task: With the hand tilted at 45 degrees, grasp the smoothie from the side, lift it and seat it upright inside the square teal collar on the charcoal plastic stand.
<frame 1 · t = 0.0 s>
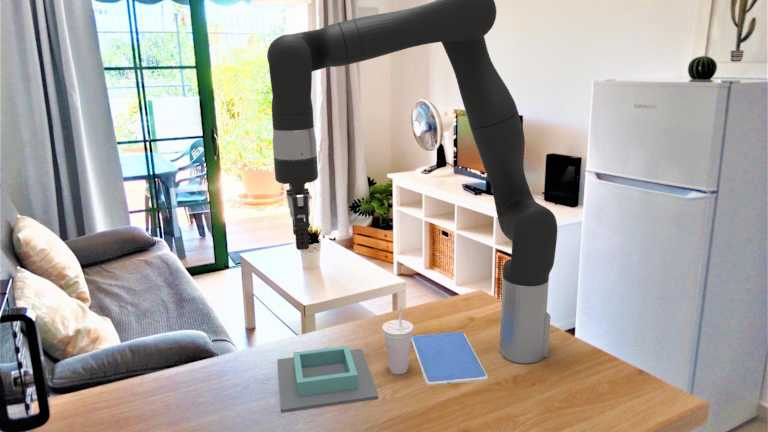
hand: (301, 241, 105), 29 cm above the table, tool pointing down, fingers open, 8 cm apart
holder: (325, 379, 114), on the table
tablet computer: (446, 361, 121), on the table
smoothie: (398, 370, 117), on the table
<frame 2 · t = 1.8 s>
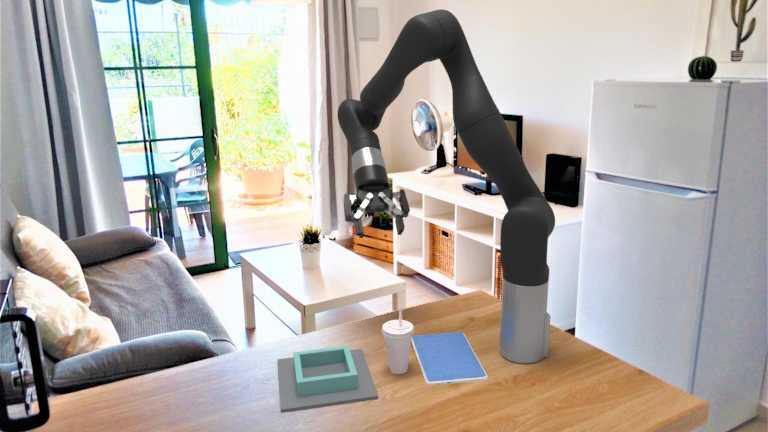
hand: (381, 235, 124), 24 cm above the table, tool tilted 45°, fingers open, 8 cm apart
nothing on the table moved.
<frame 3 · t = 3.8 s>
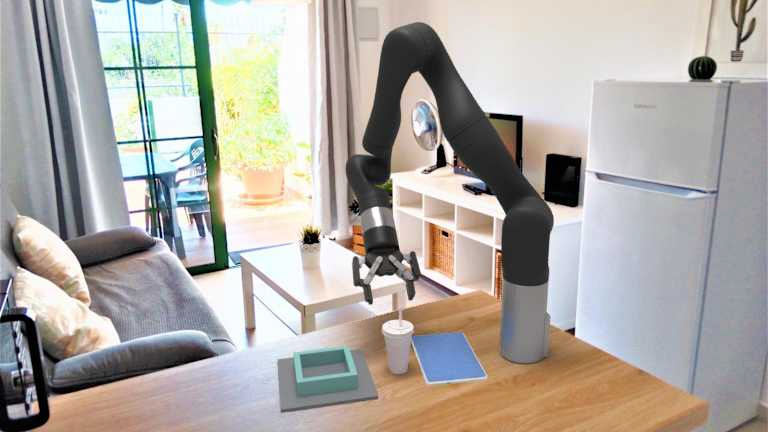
hand: (391, 301, 119), 13 cm above the table, tool tilted 45°, fingers open, 8 cm apart
nothing on the table moved.
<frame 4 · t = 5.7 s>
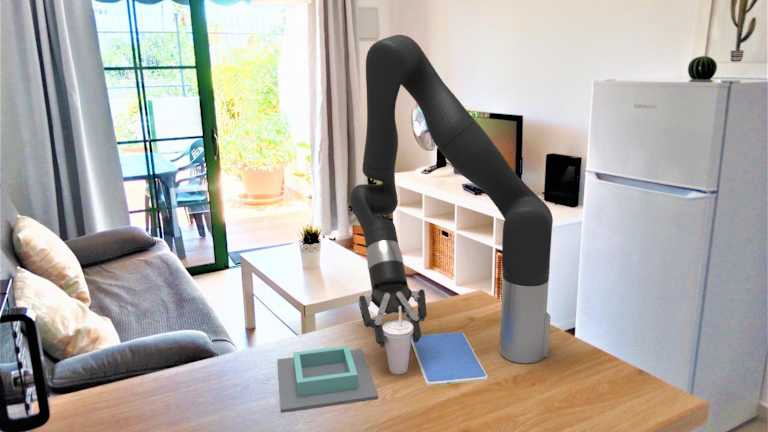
hand: (399, 343, 114), 7 cm above the table, tool tilted 45°, fingers closed on smoothie, 6 cm apart
smoothie: (398, 370, 117), on the table, touching gripper
everything else where it was.
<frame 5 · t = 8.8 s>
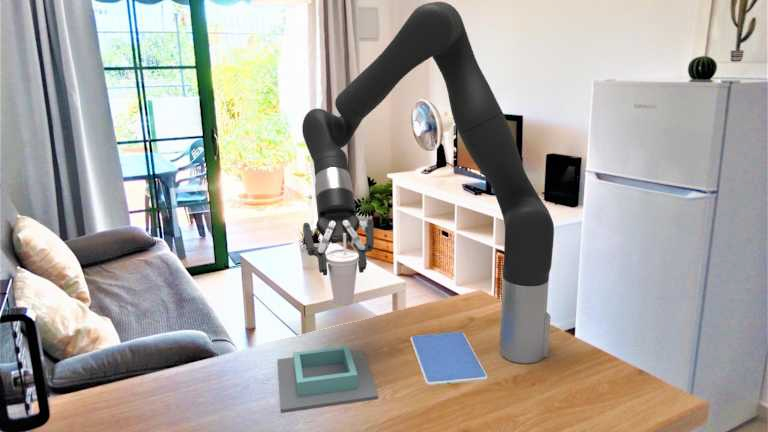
hand: (343, 272, 108), 23 cm above the table, tool tilted 45°, fingers closed on smoothie, 6 cm apart
smoothie: (343, 302, 111), point 16 cm above the table, touching gripper
everything else where it was.
when the fingers open (9 cm above the table, at t = 12.3 s): smoothie drops 1 cm, resting on holder.
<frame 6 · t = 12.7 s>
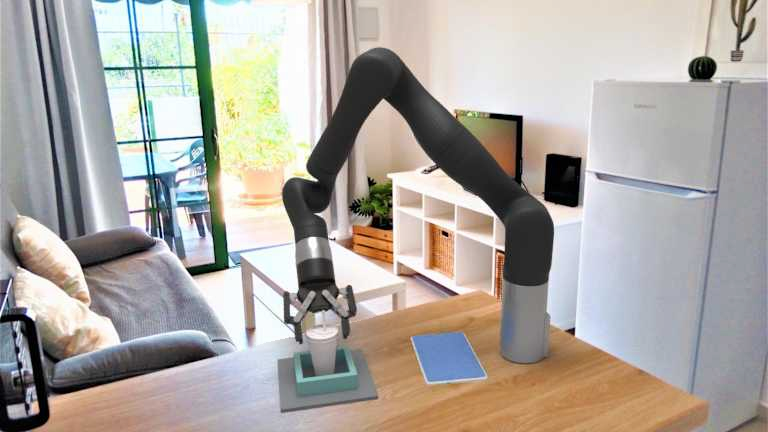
hand: (323, 340, 110), 9 cm above the table, tool tilted 45°, fingers open, 8 cm apart
smoothie: (324, 376, 114), resting on holder
everything else where it was.
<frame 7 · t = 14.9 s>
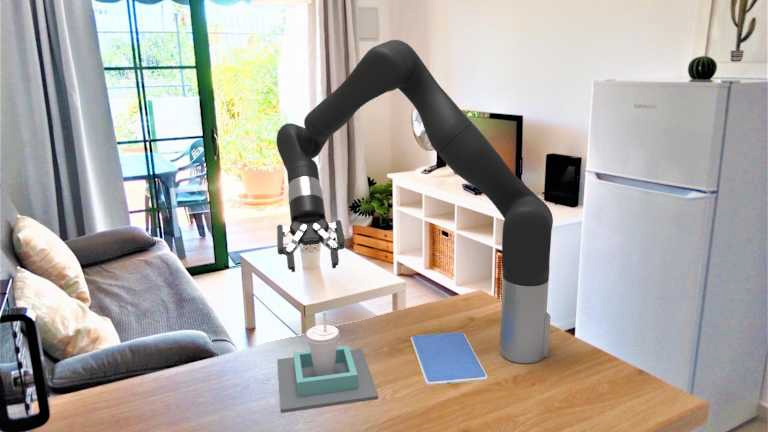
hand: (314, 268, 120), 19 cm above the table, tool tilted 45°, fingers open, 8 cm apart
nothing on the table moved.
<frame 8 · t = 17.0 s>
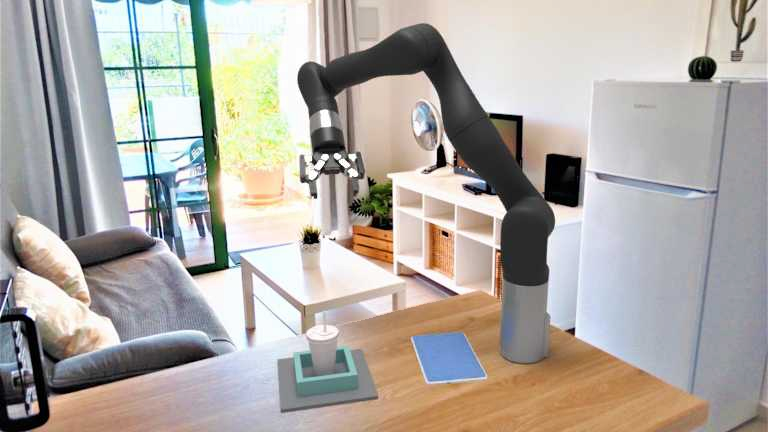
hand: (335, 195, 124), 33 cm above the table, tool tilted 45°, fingers open, 8 cm apart
nothing on the table moved.
at the end: smoothie 0.2 cm off-centre on the holder, point 0.4 cm above the holder's base; smoothie tilted 0°; the gripper is holding nothing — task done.
